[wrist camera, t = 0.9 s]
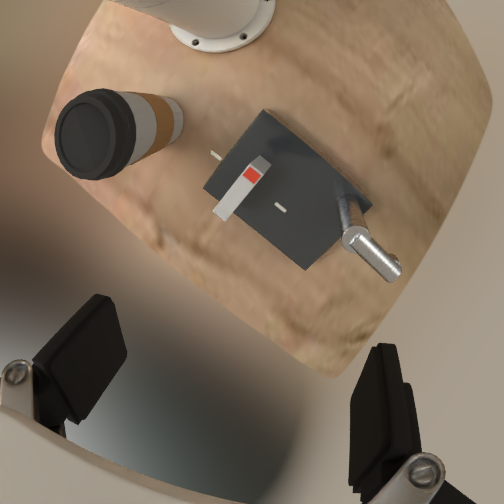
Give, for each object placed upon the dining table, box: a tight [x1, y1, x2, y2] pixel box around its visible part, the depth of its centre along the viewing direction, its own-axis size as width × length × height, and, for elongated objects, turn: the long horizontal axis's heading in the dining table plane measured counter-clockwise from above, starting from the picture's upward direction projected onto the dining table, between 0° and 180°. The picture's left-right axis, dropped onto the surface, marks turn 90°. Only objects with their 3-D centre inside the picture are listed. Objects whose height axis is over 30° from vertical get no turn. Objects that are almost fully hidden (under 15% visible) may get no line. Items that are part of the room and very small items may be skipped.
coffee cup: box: [54, 88, 184, 180], centre depth 28 cm, size 8×8×15 cm
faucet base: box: [203, 109, 373, 270], centre depth 34 cm, size 17×11×4 cm, turn 52°
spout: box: [336, 194, 402, 283], centre depth 28 cm, size 7×2×9 cm, turn 52°
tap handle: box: [212, 155, 271, 221], centre depth 30 cm, size 6×2×5 cm, turn 142°
